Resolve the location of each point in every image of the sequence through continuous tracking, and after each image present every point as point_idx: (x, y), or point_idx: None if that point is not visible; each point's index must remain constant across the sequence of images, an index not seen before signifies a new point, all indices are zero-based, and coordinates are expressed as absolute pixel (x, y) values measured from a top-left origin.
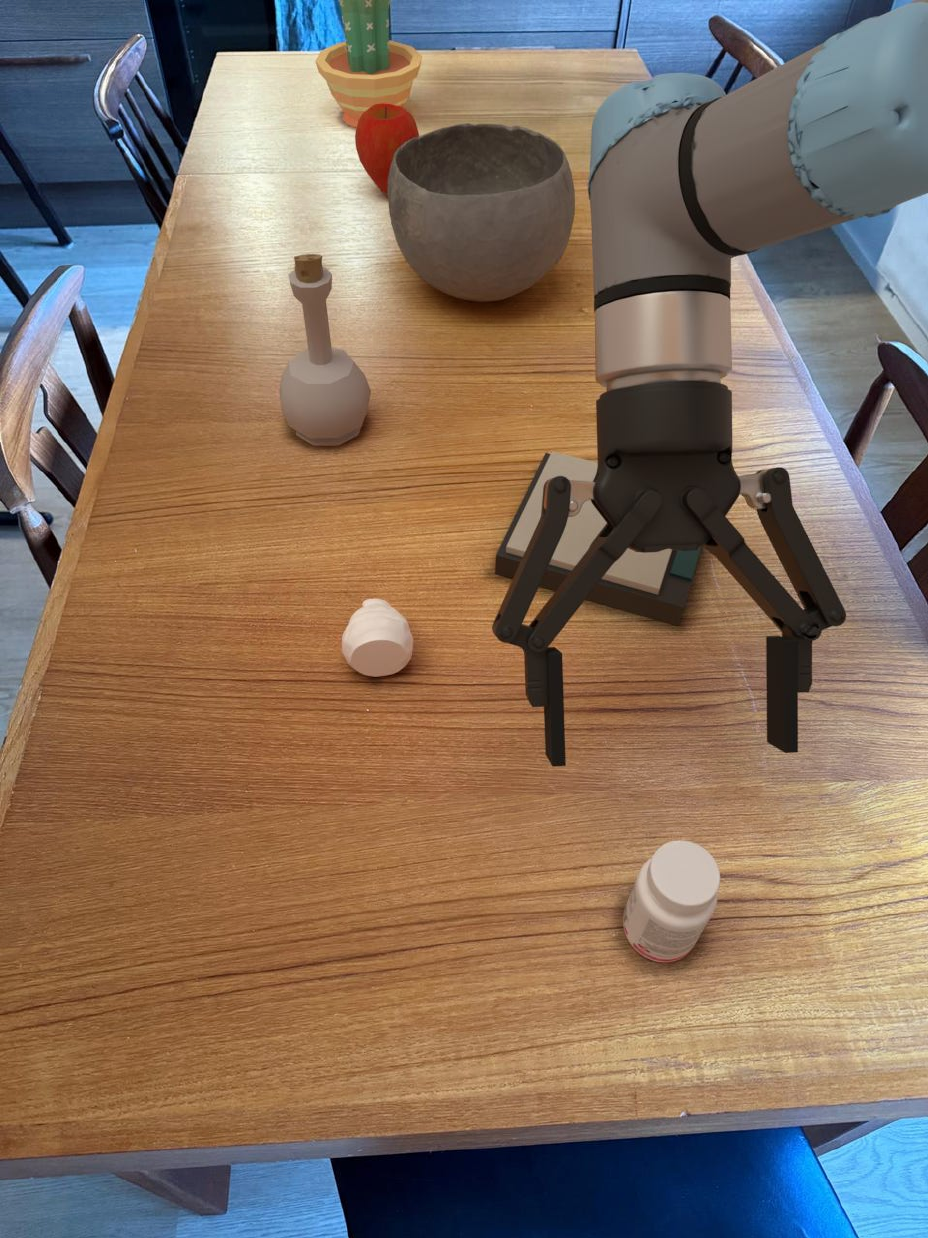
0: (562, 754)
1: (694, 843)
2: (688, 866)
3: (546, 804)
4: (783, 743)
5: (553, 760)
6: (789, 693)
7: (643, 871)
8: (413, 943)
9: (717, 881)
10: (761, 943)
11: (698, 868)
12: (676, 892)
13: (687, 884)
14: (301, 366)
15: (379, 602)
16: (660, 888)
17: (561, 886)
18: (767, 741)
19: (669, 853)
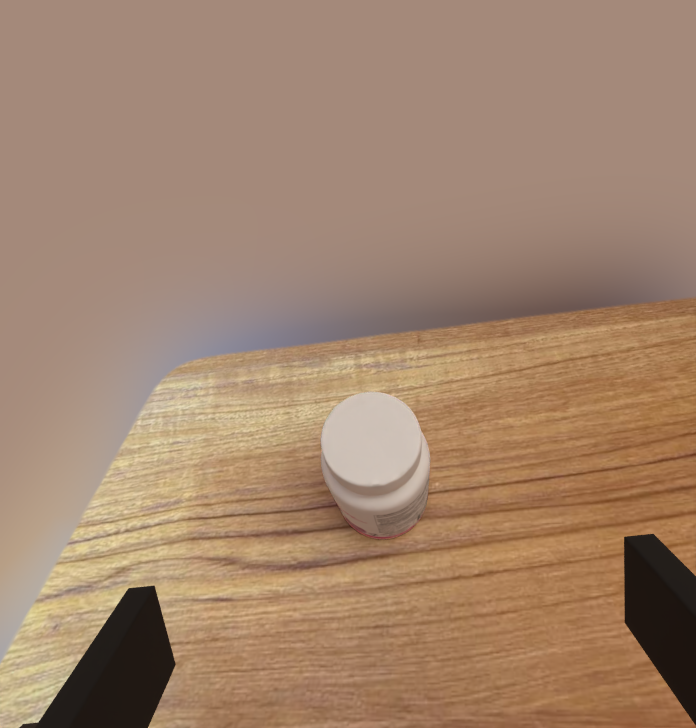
0: (644, 552)
1: (350, 481)
2: (365, 442)
3: (545, 688)
4: (148, 607)
5: (658, 542)
6: (75, 698)
7: (421, 473)
8: (685, 462)
9: (326, 424)
10: (267, 481)
11: (350, 442)
12: (386, 407)
13: (369, 418)
14: None
15: None
16: (409, 410)
17: (506, 544)
18: (173, 664)
19: (391, 463)
